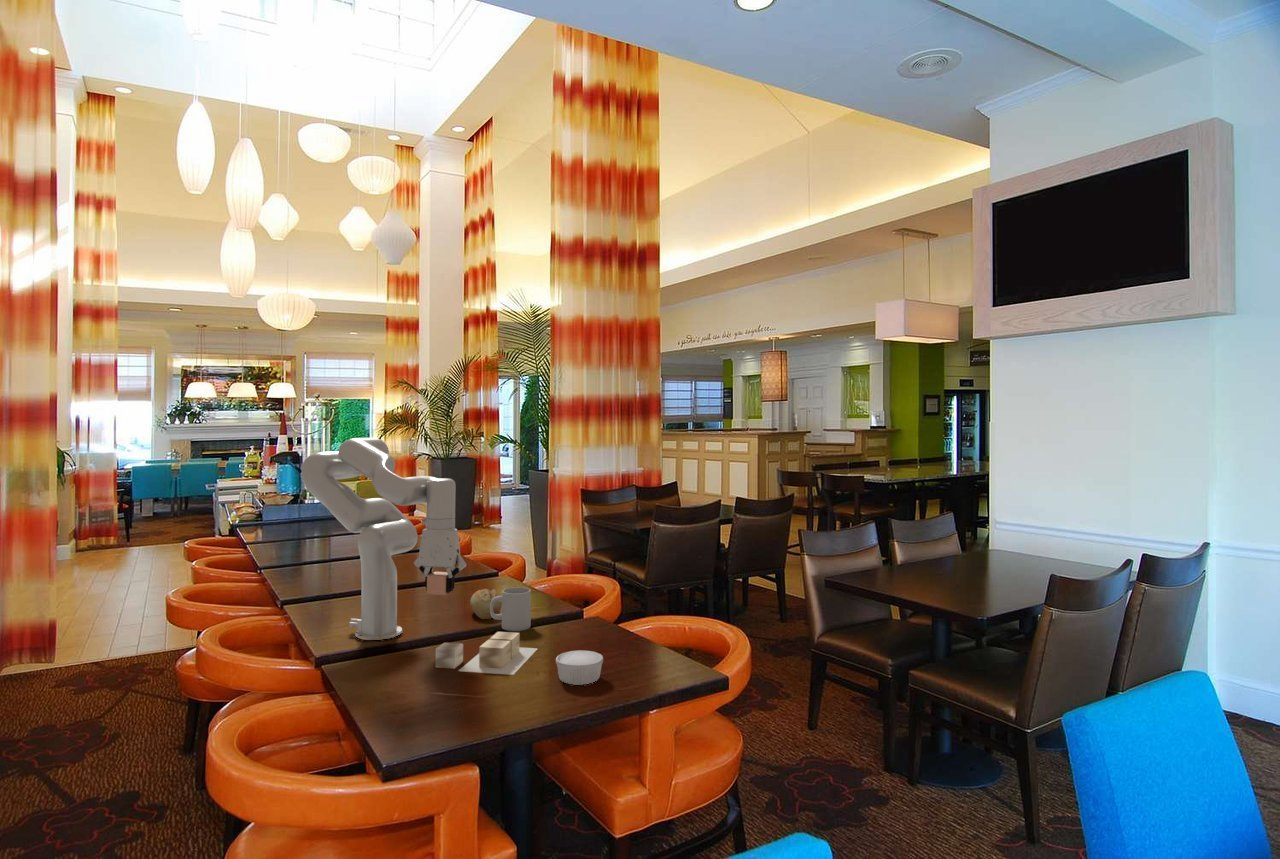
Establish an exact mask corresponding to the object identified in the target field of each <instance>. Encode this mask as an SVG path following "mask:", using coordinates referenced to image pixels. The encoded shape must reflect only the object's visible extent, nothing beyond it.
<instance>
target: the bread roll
mask: <svg viewBox="0 0 1280 859" xmlns="http://www.w3.org/2000/svg"><path fill="white" fill-rule="evenodd" d="M497 596H501V595H500V593H499V592H498V591H497V590H496V589H494V588H490V589H488V588H483V589H479V590H477V591H475V592H474V593H473V594H472V596H471V597H470V601H469V603H470V607H471V609H472V610H473V611H474V612H473V613H475V615H476V616H477V617H478V618H479V619H481V620H484V619H490V620H492V619H491V618H492V617H491V614H490V603H491V600H492V599H493V598H494V597H497ZM501 611H502V602H495V603H494V605H493V612H494V613H495V614H500V612H501Z"/></svg>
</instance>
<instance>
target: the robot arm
mask: <svg viewBox="0 0 1280 859" xmlns="http://www.w3.org/2000/svg"><path fill="white" fill-rule="evenodd" d="M395 469H396V460H395V459H394V457H393V456H392V455H390V451H389V447H388V445H387V444H386V442H385V441H384V440H382V439H381V438H378V437H353V438H349V439H346V440H345V441H343V442H342V443H341V444H340V446H339V447H338V450H334V451H331V450H330V451H329V450H328V451H320V452H319V451H318V452H314V453H313V454H310V455H309V456H306V458H305V459H304V461H303V462H302V465H301V478H302V481H303V483H304V486H305V488H306V489H307V490H308V492H309V493H310V494H311V496H313V497H314V498H315V499H316V500H317V501H318V502H320V504H322V505H323V506H324V507H325V508H326V509H327V510H328V511H329V512H330V513H331V515H333V516H334V518H335V519H336V520H337V521H338V523H340V524H341V525H342V526H343V527H344V528H345V529H346V530H347V531H349V532H351V533H353V534H359V535H358V536H357V548H358V553H359V557H360V558H359V559H360V567H361V568H360V569H361V571H360V572H361V575H360V577H361V581H360V582H361V595H360V596H361V597H360V598H361V606H360V607H361V609H360V610H361V612H360V614H361V615H360V617H361V618H360V619H359V618H354V617H353V618H350V620H349V623H348V624H349V625H348V627H349V628H357V630H356V631H355V633H354V637H355V636H356V637H358V638H361V639H368V640H377V639H387V638H391V637H395V636H398V635H400V634H401V633H402V634H403V627H402V626H400V625H398V571H397V570H398V569H397V567H396V565H395V562H394V560H393V557H392V556H394V555H399V554H403V553H407V552H409V551H411V550H412V549H413V548H415V546H417V543H418V532H417V529H416V527H415V525H414V524H413V523H412V522H411V520H410V519H409V518H408V517H407V516H406V515H405V514H404V513H402V511H400V510H399V508H398V507H396V505H397V506H400V507H404V506H405V507H406V506H412V505H413V506H414V505H422V504H426V512H425V515H426V516H425V518H424V519H421V524H422V525H425V528H423V529H422V532H421V537H420V544H419V553H418V556H417V558H416V559H415V561H413V565H414V566H415V567H416V568H417V569H419V571H420V572H421V574H423V577H424V579H425V580H424V586H425V588H426V589H425V591H426V592H427V575H429V574H431V573H433V571H434V568H443V569H444V568H445V569H446V572H447V574H448V578H447V579H446V592H447V594H449V593H451V592H452V591H454V589H455V578H456V576H457V574H458V573H460V572H461V571H462V570H463V569H464V568H466V567H467V562H466V561H465V560H464V558H463V557H462V556H461V546H460V545H461V544H460V537H459V532H458V529H457V528H456V487H457V486H456V481H455V480H454V479H452V478H447V477H445V478H442V477H441V478H440V477H439V478H438V477H435V476H430V475H421V476H419V475H418V476H409V477H401V476H400V475H398V474H396V473H395ZM362 475H363V476H365V477H366V478H367V479H369V480H371V482H372V486H373V488H374V491H375V492H376V493H377V494H378V495H379V496H380V497H374V498H373V497H372V498H362V497H361V496H359V495H358V494H356V493H355V492H354V491H353V489H352V488H351V487H349V486H348V485H347V484H345V483H343V482H340V481H339V480H344V479H345V480H346V479H353V478H356V477H359V476H362ZM455 565H458V566H456V567H455ZM402 634H401V635H402ZM401 635H400V636H401ZM356 637H355V638H356ZM398 637H399V636H398ZM395 638H396V637H395Z"/></svg>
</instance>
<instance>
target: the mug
mask: <svg viewBox="0 0 1280 859" xmlns="http://www.w3.org/2000/svg"><path fill="white" fill-rule="evenodd" d="M531 595H532V591H531V589H530V588H528V587H523V586H522V587H521V586H518V587H517V586H515V587H507V588H504V589H503V590H502V592H501V595H500V596H497V597H494V598H493V599H492V600H491V603H490V614H491V617H492V618H493V620H497V621H498V620H499V621H501V629H502V630H503V631H505V632H523V631H527V630H528V629H530V628H531V627H532V626H531V625H532V623H531V622H532V621H531V620H532V619H531V611H532V610H531V608H532V604H531V602H532V596H531ZM495 602H502V607H501V613H498V614H495V613H494V612H493V605H494V603H495Z"/></svg>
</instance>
